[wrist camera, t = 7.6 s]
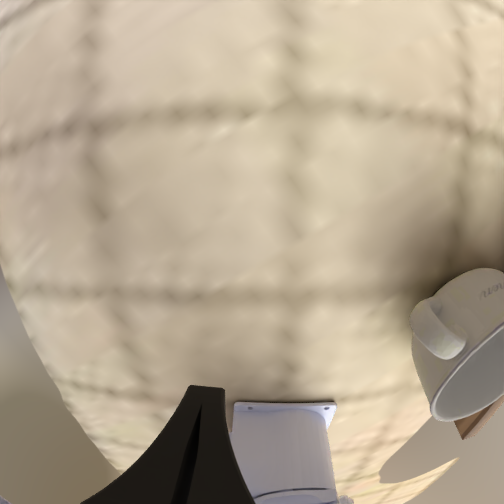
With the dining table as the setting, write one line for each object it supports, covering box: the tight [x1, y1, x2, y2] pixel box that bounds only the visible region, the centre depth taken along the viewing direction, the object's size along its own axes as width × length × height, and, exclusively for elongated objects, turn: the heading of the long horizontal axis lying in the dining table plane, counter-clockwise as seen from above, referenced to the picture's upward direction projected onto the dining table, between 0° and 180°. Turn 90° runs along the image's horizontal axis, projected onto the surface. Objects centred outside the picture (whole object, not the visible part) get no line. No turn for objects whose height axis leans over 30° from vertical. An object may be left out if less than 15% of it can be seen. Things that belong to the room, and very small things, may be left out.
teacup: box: [409, 268, 504, 421], centre depth 16 cm, size 14×11×8 cm
